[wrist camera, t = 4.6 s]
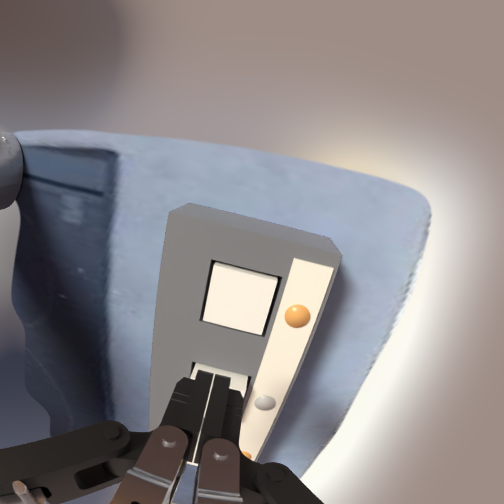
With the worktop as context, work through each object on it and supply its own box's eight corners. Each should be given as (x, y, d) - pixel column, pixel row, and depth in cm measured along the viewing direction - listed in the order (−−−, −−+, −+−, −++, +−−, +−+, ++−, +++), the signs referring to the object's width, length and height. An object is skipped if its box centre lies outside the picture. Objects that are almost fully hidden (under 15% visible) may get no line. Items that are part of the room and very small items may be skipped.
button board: (251, 447, 32) (248, 479, 27) (160, 424, 32) (147, 453, 27) (329, 238, 24) (343, 257, 19) (189, 203, 24) (167, 212, 19)
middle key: (238, 403, 25) (234, 424, 23) (192, 391, 25) (184, 411, 23) (248, 369, 24) (245, 391, 22) (198, 356, 24) (190, 377, 22)
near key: (263, 317, 24) (261, 335, 21) (210, 303, 24) (202, 320, 21) (277, 267, 23) (277, 281, 20) (220, 253, 23) (213, 265, 20)
